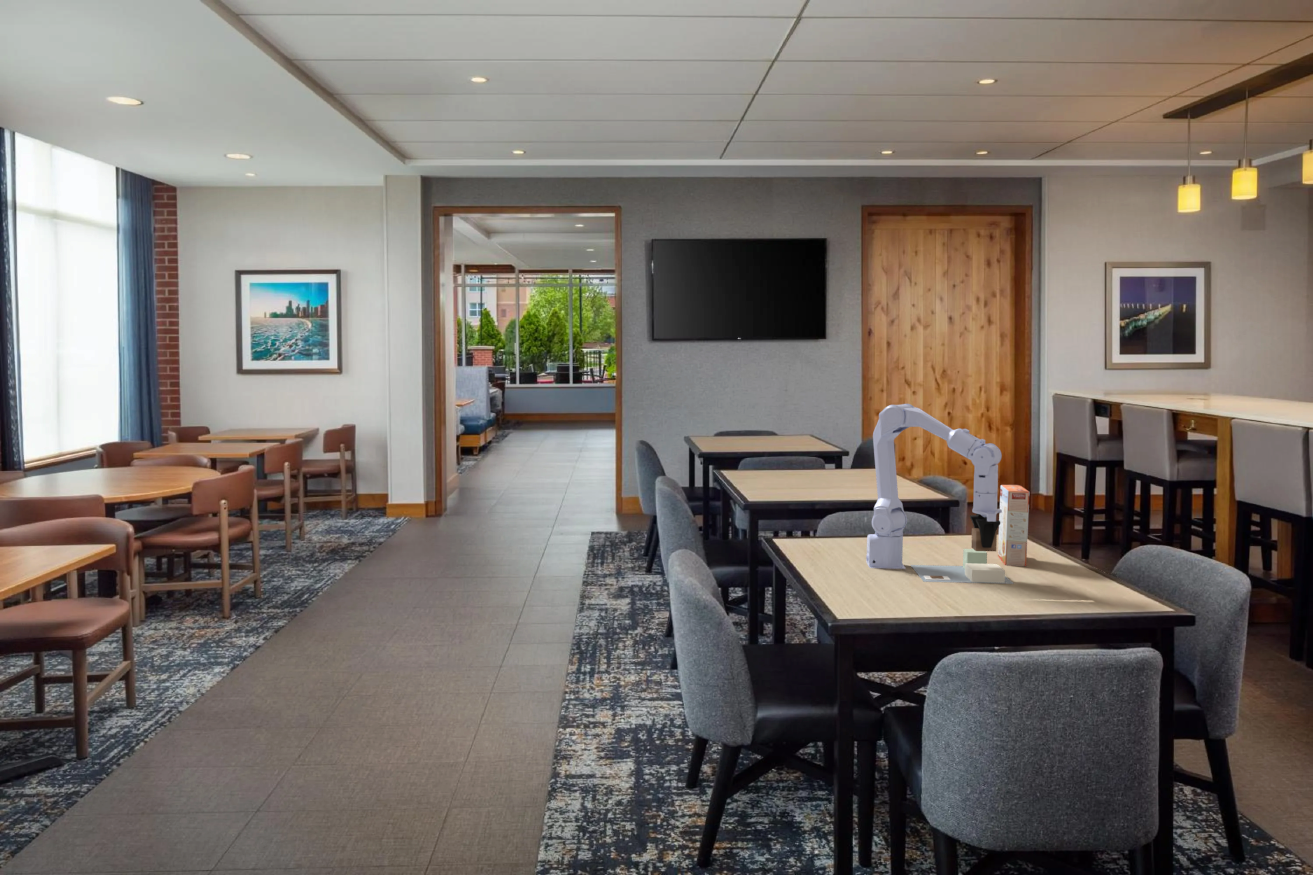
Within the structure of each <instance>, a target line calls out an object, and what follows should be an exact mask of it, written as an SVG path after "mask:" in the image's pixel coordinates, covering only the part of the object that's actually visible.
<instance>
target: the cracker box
mask: <svg viewBox="0 0 1313 875" xmlns="http://www.w3.org/2000/svg"><path fill="white" fill-rule="evenodd" d="M999 487H1000V490H999V492H1000V493H999V509H1001V510H1002V513H998V514H999V517H998V518H999V519H998V521H1000V525H999V526H998V538H997V540H998V542H997V544H998V545H997V557H998V558H999V560H1000V561H1001V562H1002V563H1003V565H1004V566H1012V567H1016V566H1017V567H1027V560H1028V558H1027V556H1028V555H1027V554H1028V537H1029V536H1028V534H1029V512H1030V509H1029V508H1030V491H1029V490H1027V489H1026V488H1025V487H1023V486H1022V485H1019V484H1001V485H1000V486H999Z"/></svg>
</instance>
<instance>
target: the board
mask: <svg viewBox="0 0 1313 875" xmlns="http://www.w3.org/2000/svg"><path fill="white" fill-rule="evenodd" d="M910 566H911V568H913V570H914V571H915V573H916V574H917V576H918V577H919V578H920V579H921V580H922V582H924V583H956V584H957V583H961V584H962V583H963V584H964V583H967V584H1007V585H1009V584H1010V585H1012V584H1013V585H1014V582H1013V581H1012V580H1010V579H1009V578H1008V577H1007V576H1006V575H1005V582H972V581H971V580H970V579H969V578H968V577H967V576H966V575H965V569H964V568H963V565H939V564H938V565H934V564H933V565H930V564H928V565H927V564H910Z"/></svg>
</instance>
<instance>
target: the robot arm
mask: <svg viewBox="0 0 1313 875" xmlns="http://www.w3.org/2000/svg"><path fill="white" fill-rule="evenodd" d="M913 427H915V428H916V427H917V428H918V427H919V428H921V429H923V430H925V431H926V432H927V431H928V433H931V434H932V435H934V436H937V437H939V438H941V439H943V440H944V441H945V442H946V444H947V447H948V448H949V449H951V450H952V451H954V452H956V453H957V454H959V455H961V456H963V457H964V458H966V459H967V460H970V461H971V463H972V465H973V466H974V467H973V468H974V471H973V498H972V499H973V504H972V505H973V506H972V509H971V510H972V513H974V514H975V515H974V514H971V515H969V518H970V520H971V523H972V526H973V528H979V530H980V536H981V544H982V547H983V548H991V547H992V544H993V540H994V536H995V533H996V531H997V530H998V529H999V525H1000V521H999V520H997V514H1000V513H1002V510H1001V509H1000V508H998V492H999V490H998V489H999V482H998V481H999V463H1000V462H1001V460H1002V451H1001V449H1000V448H999V447H998V446H997V445H996V444H994V443H991V442H990V443H986V439H984V438H981V439H980V438H978V437H977V436H974V434H971V433H970V432H971V431H970V430H969V429H967V428H957V429H953V428H952V427H950V426H948V425H946V424H944V423H943V422H941V421H940V420H938V419H937V418H935V417H933V416H932V415H931V414H929V413H927V412H926V411H924V410H922V408H919V407H917V406H916V407H915V406H914V405H912V404H911V403H902V404H890V405H887V406H886V407H884V408H883V409H882V411H880V412H879V414H878V420H877V423H876V425H875V427H874V430H873V433H872V441H873V442H872V444H873V453H874V454H873V455H874V465H875V466H874V468H875V477H876V478H875V479H876V490H877V491H876V492H877V493H876V494H877V500H876V503H875V504H874V507H873V516H872V517H871V518H872V519H871V527H872V529H873V530H874V534H873V533H872V534H871V533H870V534H867V537H866V558H865V561H866V564H867V566H868V567H869V569H894V570H896V569H897V570H900V569H901V570H906V566H905V565H904V564H903V556H904V555H903V553H904V552H903V548H904V547H903V546H904V545H903V544H904V538H903V537H904V529H905V527H906V526H907V523H908V517H907V513H906V512H905V510H904V506H903V502H902V501H901V499H900V498H899V491H898V490H899V489H898V478H897V466H896V465H897V464H896V454H895V442H894V441H895V439H896V438H897V437H898V436H899V435H900V434H901V433H902V432H903V431H905V430H906V429H908V428H913Z"/></svg>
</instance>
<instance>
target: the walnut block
mask: <svg viewBox="0 0 1313 875" xmlns="http://www.w3.org/2000/svg"><path fill="white" fill-rule="evenodd" d="M997 535H998V532H997V530H996V533H995V536H994V540H993V544H992V547H991V548H983V547H982V544H981V536H980V530H979V528H974V527H972V528H971V549H974V550H975V551H986V552H997V547H998V545H997V544H998V542H997V540H998V538H997V537H998V536H997Z"/></svg>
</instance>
